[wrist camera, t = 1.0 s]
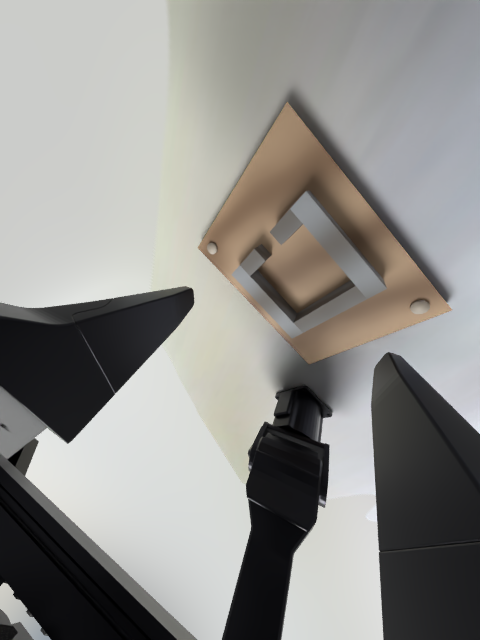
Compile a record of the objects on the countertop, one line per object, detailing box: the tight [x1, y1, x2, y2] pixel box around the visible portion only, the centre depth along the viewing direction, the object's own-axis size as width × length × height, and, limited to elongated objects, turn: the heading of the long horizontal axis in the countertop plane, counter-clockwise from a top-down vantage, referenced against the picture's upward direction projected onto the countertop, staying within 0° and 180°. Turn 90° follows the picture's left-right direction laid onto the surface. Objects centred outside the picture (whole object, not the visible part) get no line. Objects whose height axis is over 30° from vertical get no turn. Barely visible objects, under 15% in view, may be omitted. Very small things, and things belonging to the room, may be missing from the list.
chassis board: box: [198, 102, 452, 364], centre depth 19 cm, size 20×14×3 cm
